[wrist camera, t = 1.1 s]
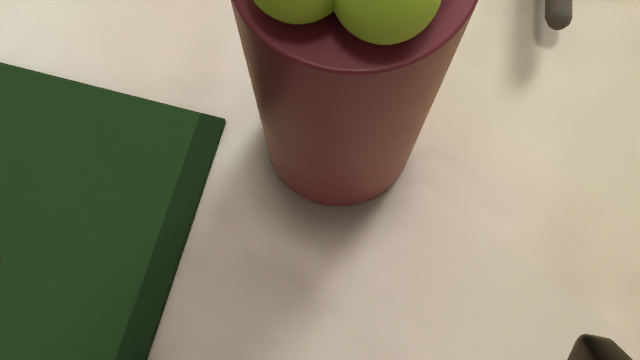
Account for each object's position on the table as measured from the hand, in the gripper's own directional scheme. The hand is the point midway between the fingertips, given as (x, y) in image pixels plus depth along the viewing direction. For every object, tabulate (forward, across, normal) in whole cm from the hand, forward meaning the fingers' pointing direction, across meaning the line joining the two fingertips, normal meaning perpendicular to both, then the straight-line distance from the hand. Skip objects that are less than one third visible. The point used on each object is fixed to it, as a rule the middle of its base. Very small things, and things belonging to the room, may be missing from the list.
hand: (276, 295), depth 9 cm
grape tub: (+15, 0, +4) cm, 15 cm away
